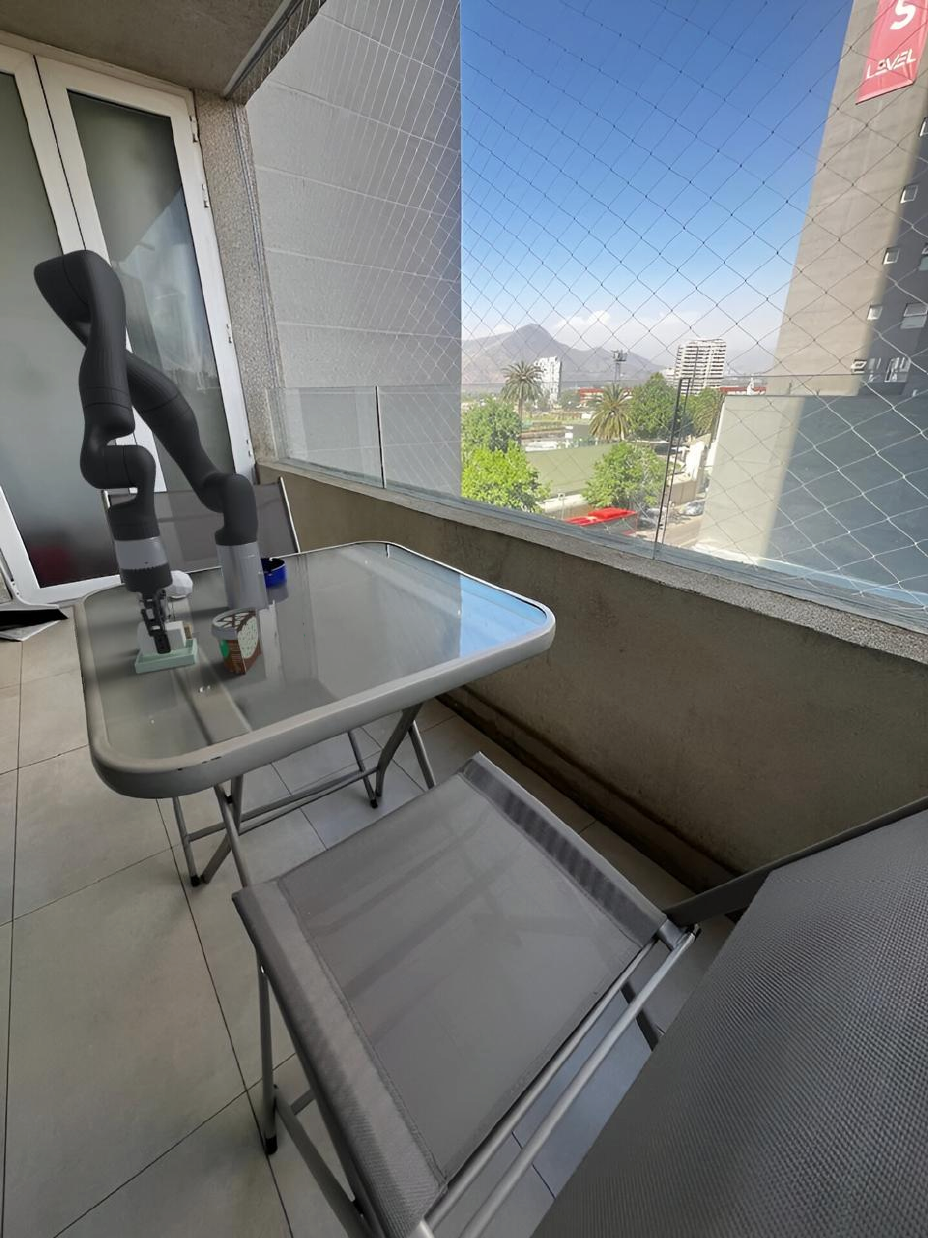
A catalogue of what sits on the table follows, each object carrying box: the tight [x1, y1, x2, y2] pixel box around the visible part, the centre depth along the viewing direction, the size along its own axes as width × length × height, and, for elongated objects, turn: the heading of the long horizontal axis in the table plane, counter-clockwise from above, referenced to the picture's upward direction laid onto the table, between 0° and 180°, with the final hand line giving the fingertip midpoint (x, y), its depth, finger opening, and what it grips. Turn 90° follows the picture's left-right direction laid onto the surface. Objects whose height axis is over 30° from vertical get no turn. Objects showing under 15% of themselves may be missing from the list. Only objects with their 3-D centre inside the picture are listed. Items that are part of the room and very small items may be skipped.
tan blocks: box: [182, 621, 194, 640], centre depth 101 cm, size 9×3×4 cm, turn 115°
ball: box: [163, 570, 194, 596], centre depth 132 cm, size 8×8×8 cm
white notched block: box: [136, 620, 186, 655], centre depth 93 cm, size 7×4×5 cm, turn 115°
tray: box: [134, 638, 199, 675], centre depth 95 cm, size 10×9×2 cm
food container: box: [210, 607, 263, 675], centre depth 91 cm, size 12×6×10 cm, turn 5°
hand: (166, 647), depth 94 cm, fingers closed on white notched block, 4 cm apart
